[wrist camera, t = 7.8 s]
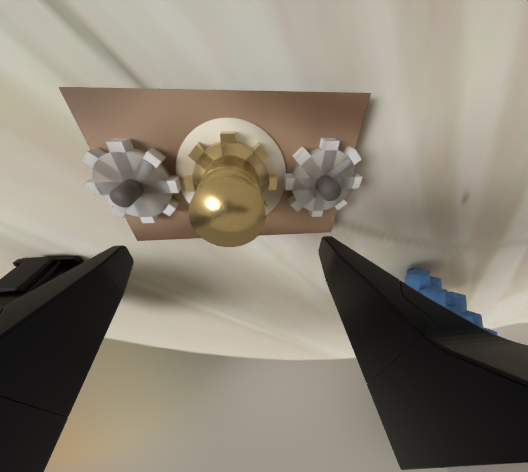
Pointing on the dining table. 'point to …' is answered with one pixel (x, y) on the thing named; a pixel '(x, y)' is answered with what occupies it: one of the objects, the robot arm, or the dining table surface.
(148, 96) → the gear board
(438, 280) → the grapes
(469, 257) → the dining table surface
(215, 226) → the brass gear
